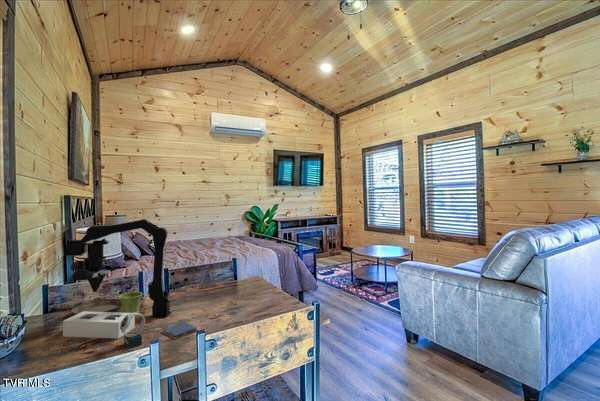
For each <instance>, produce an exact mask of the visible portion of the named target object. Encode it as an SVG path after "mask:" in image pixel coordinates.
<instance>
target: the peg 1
mask: <svg viewBox="0 0 600 401" xmlns="http://www.w3.org/2000/svg"><path fill="white" fill-rule="evenodd" d="M93 317H95V314H88V315H84V316H82V317H81V319H91V318H93Z"/></svg>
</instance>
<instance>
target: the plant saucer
mask: <svg viewBox="0 0 600 401" xmlns="http://www.w3.org/2000/svg"><path fill="white" fill-rule="evenodd" d="M120 309H122V302H121V299H119V298H106V299H97V300H93V301H89V302H84V303H80V304H79V305H76V306H75V307H72V309H71V313H72V314H73V316H74V315H77V314H79V313H81V312H83V311H86V312H118V311H120Z"/></svg>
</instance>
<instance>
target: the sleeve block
mask: <svg viewBox="0 0 600 401" xmlns="http://www.w3.org/2000/svg"><path fill="white" fill-rule="evenodd" d="M88 314H95V317H93V318H91V319H81V317H82V316H84V315H88ZM129 314H131V313H123V312H118V311H117V312H86V311H83V312H81V313H79V314H77V315H74V314H73V315H72V316H71V317H69V318H65V319H64V320H62V337H66V338H88V339H89V338H91V339H92V338H93V339H95V338H96V339H116V340H117V339H120V338H122V337H124V334H123V333H122V332H121V329H120V324H121V322H122V320H123V318H124V317H125V316H126V315H129ZM111 315H119V318H117V319H115V320H105V318H106V317H108V316H111ZM135 316H136V315H134V316H133V318H132V319H131V323H130V325H129V327H128V328H127V329H126V330H125V332H124V333H125V334H128V333H129V332H131V331H132V330H133V329H135V328H136V326H135V323H136V322H135V320H136V319H135Z"/></svg>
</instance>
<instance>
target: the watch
mask: <svg viewBox="0 0 600 401" xmlns="http://www.w3.org/2000/svg"><path fill="white" fill-rule="evenodd" d="M134 315H135V316H141V318H142V319H141V322H140V325H139V326H138V328H137V330H136V331H134V332H130V333H126V334H125V333H124V332H125V330H126V329H127V328H128V327H129V325H130V323H131V319H132V318H133V316H134ZM145 326H146V318H145V316H144V315H143V314H142V313H139V312H138V313H131V314H129V315H126V316H125V317H124V318H123V320H122V322H121V324H120V329H121V332H122V333H123V334H124V335H123V343H124V346H126V348H127V349H128V350H130V349H133V348H136V347H139V346H142V345H143V335H141V333H142V331H144V330H143V329H144V328H145Z"/></svg>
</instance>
